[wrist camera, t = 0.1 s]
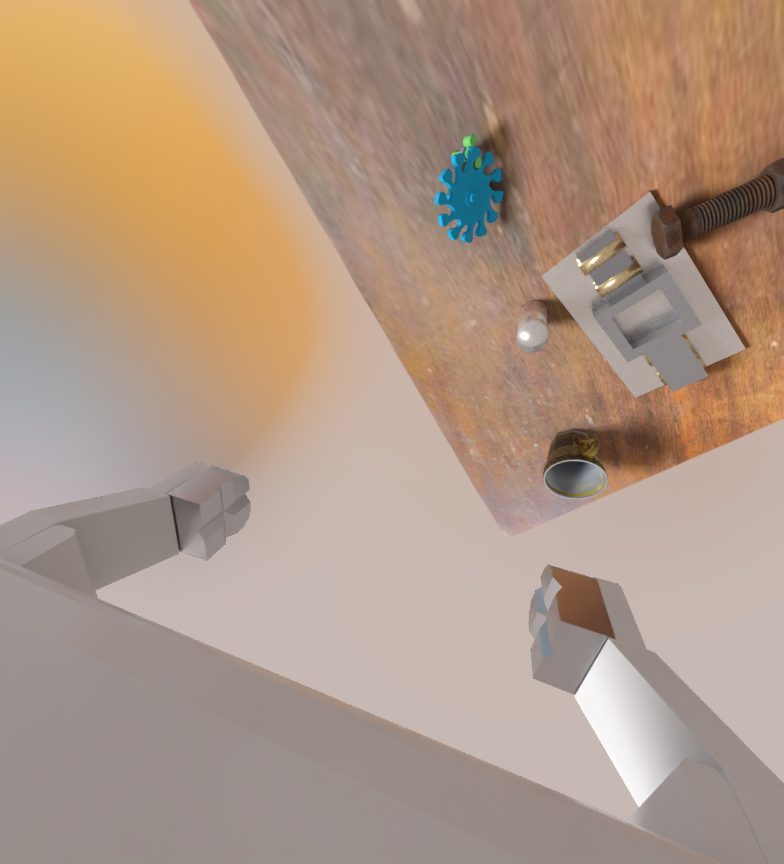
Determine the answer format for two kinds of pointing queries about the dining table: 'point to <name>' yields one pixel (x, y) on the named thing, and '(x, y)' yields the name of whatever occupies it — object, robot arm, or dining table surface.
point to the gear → (469, 191)
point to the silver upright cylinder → (532, 327)
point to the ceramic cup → (574, 466)
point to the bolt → (718, 211)
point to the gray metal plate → (643, 304)
